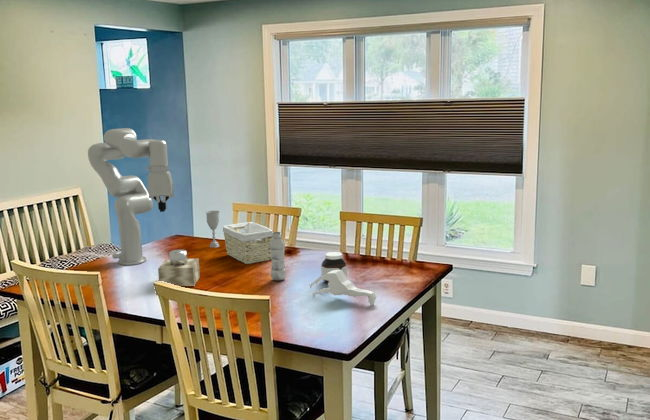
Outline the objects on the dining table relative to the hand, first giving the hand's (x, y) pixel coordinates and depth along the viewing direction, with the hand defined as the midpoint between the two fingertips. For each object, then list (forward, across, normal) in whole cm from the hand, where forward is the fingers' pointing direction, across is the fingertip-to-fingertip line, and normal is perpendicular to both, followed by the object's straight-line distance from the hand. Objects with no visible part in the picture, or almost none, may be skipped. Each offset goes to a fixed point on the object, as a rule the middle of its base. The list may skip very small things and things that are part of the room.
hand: (162, 211), depth 266 cm
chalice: (+27, +15, +43) cm, 53 cm away
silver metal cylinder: (+26, +9, -17) cm, 32 cm away
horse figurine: (+28, +75, -46) cm, 92 cm away
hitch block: (+27, +9, -17) cm, 33 cm away
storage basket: (+28, +35, +19) cm, 48 cm away
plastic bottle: (+27, +50, -19) cm, 60 cm away
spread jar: (+27, +73, -22) cm, 81 cm away
